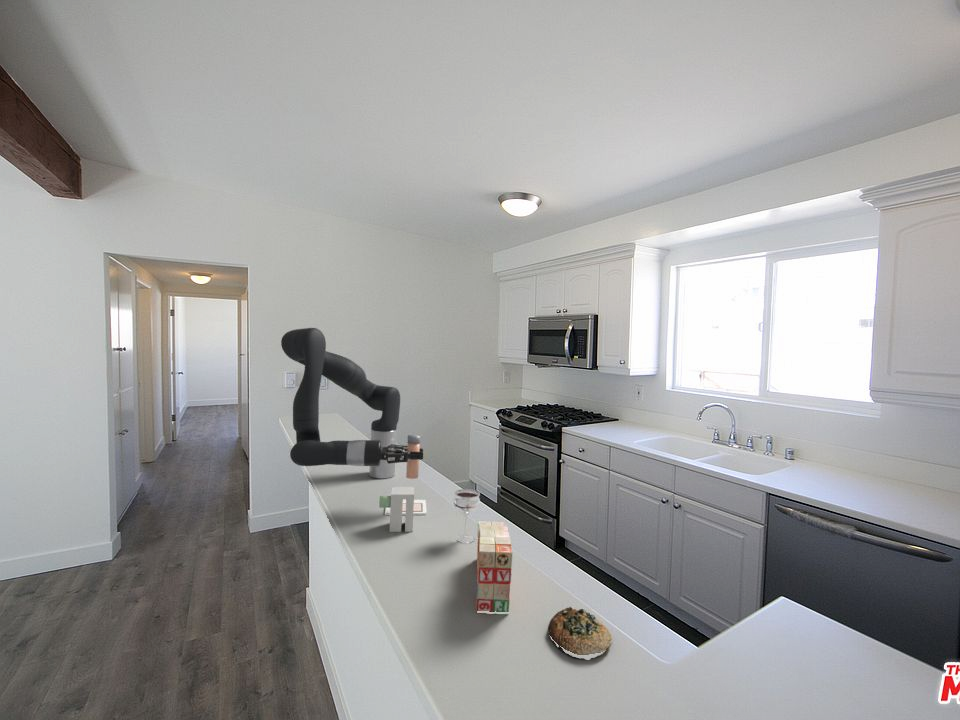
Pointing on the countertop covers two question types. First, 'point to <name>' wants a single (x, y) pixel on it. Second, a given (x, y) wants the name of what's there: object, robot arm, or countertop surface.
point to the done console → (396, 508)
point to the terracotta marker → (413, 464)
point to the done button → (385, 502)
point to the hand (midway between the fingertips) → (422, 453)
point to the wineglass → (466, 508)
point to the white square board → (418, 509)
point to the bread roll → (579, 632)
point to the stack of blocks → (493, 567)
